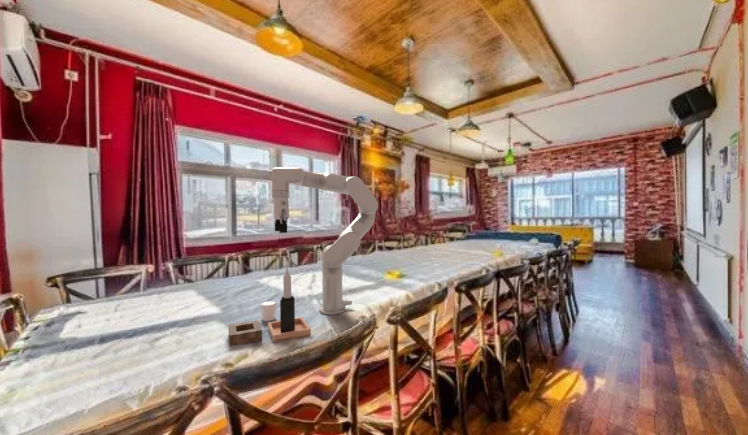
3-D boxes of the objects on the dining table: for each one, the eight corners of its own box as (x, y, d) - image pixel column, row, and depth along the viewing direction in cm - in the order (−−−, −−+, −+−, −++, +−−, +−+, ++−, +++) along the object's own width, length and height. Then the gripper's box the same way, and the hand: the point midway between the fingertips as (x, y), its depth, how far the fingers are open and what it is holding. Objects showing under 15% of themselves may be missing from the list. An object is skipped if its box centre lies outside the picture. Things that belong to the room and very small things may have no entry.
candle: (282, 328, 125) (281, 267, 124) (295, 327, 126) (294, 267, 125) (280, 333, 120) (279, 269, 119) (293, 332, 121) (292, 269, 120)
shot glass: (271, 321, 134) (271, 306, 133) (257, 320, 135) (257, 304, 135) (279, 316, 140) (279, 301, 140) (265, 315, 142) (265, 300, 141)
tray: (301, 322, 132) (301, 317, 132) (310, 335, 120) (310, 328, 120) (267, 328, 126) (267, 322, 126) (273, 342, 114) (273, 335, 114)
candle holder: (258, 329, 125) (258, 320, 125) (262, 340, 115) (262, 329, 115) (228, 335, 120) (228, 324, 120) (229, 346, 110) (229, 335, 110)
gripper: (294, 194, 136) (294, 233, 137) (284, 195, 151) (284, 230, 152) (276, 194, 132) (276, 233, 133) (268, 195, 147) (268, 230, 148)
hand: (280, 231), depth 142 cm, fingers open, 9 cm apart
